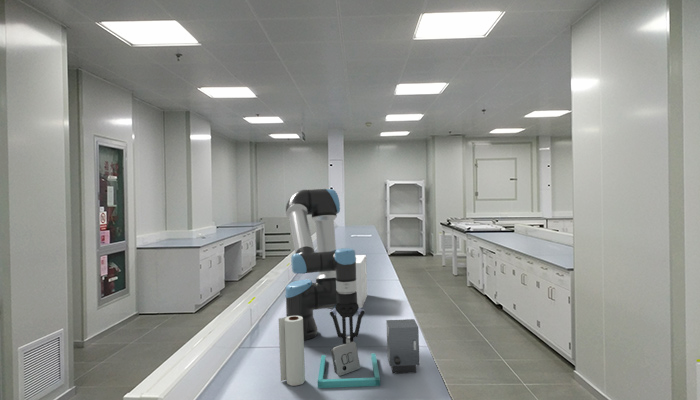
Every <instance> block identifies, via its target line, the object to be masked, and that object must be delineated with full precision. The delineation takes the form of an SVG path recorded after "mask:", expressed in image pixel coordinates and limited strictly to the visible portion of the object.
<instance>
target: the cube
mask: <svg viewBox="0 0 700 400" xmlns="http://www.w3.org/2000/svg"><path fill="white" fill-rule="evenodd" d="M355 255H356V283H357V290H356V292H357V304H358V306H359V308H361V309H363V306H364V304H365V302H366V300H367V297H368V274H367V273H368V272H367V255H366V254H355Z"/></svg>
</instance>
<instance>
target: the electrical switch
mask: <svg viewBox="0 0 700 400" xmlns="http://www.w3.org/2000/svg"><path fill="white" fill-rule="evenodd" d="M330 352H331V358H332V364H333V369H334V373H336V375H337V376H338V377H340V376H343V375H346V374H349V373H351V372H354V371H357V370H359V369H361V363H360V358H359V352H358V348H357V342H356V341H353V342H349V343H346V344H343V343H342V344H340V345H337V346H335V347H333V348H331V349H330Z"/></svg>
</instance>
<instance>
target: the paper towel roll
mask: <svg viewBox="0 0 700 400" xmlns="http://www.w3.org/2000/svg"><path fill="white" fill-rule="evenodd" d="M278 339H279V367H280V368H279V370H280V382H283V381H286V383H287V385H289V386H291V387H293V386H294V387H296V386H300V385H302V384H304V383H305V380H306V373H305V372H306V370H305V369H306V368H305V367H306V366H305V340H304V335H303V317H301V316H288V317H287V316H285V317H280V318H278Z"/></svg>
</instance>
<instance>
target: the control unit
mask: <svg viewBox="0 0 700 400" xmlns="http://www.w3.org/2000/svg"><path fill="white" fill-rule="evenodd" d="M385 321H386V348H387V349H386V353H387V360H388V363H389V367H390V369H391V371H392V374H410V373H411V374H413V373H414V374H415V373H417V366H420V337H419V334H420V333H419V330H420V329H419V325H418V323H417V322H416V320H415V319H414V318H411V319H410V318H409V319H408V318H405V319H386V320H385Z"/></svg>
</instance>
